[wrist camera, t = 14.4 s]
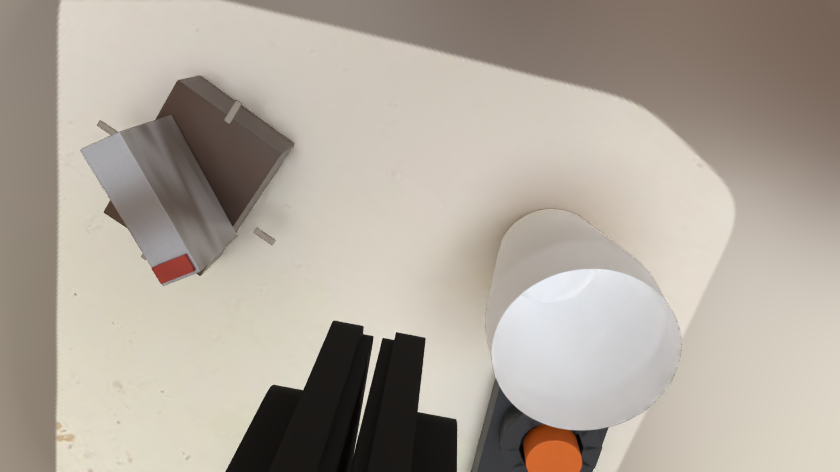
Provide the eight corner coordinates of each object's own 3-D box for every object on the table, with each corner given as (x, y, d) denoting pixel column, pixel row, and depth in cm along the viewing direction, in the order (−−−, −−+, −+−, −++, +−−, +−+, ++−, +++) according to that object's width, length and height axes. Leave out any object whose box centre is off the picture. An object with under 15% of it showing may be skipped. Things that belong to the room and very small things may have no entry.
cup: (648, 244, 37) (728, 339, 26) (556, 340, 40) (593, 463, 29) (539, 161, 36) (575, 225, 25) (452, 267, 39) (448, 367, 28)
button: (530, 418, 38) (533, 436, 37) (583, 428, 38) (589, 446, 37) (517, 460, 40) (520, 479, 38) (569, 470, 40) (573, 489, 38)
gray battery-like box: (137, 130, 34) (76, 150, 28) (171, 114, 33) (116, 132, 28) (204, 248, 36) (160, 288, 31) (238, 235, 36) (198, 273, 30)
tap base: (171, 33, 35) (144, 34, 32) (338, 154, 37) (327, 166, 34) (87, 188, 39) (56, 202, 36) (242, 291, 41) (225, 312, 38)
